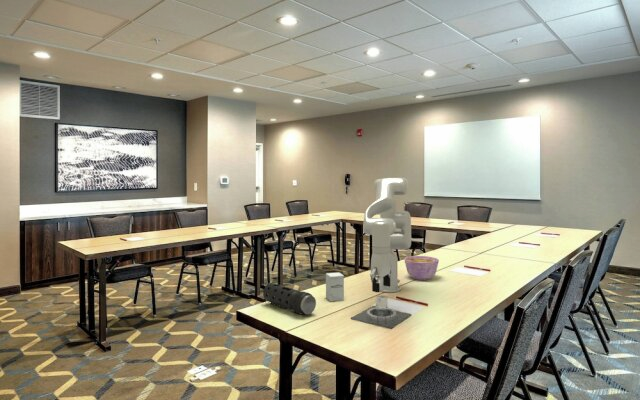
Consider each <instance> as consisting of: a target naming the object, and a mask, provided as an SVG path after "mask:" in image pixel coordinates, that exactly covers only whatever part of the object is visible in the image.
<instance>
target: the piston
mask: <svg viewBox="0 0 640 400" xmlns="http://www.w3.org/2000/svg"><path fill="white" fill-rule="evenodd" d="M375 306H376V316H382V317H386V316H387V308H388V296H386V295H376V296H375Z"/></svg>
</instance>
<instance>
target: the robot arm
mask: <svg viewBox="0 0 640 400" xmlns="http://www.w3.org/2000/svg"><path fill="white" fill-rule="evenodd" d="M373 185H374V190H375V194H376V195H375V201H374V202H372V203H371V204H370V205H369V206H368V207H367V208H366V209H365V212H364V216H363V223H362V226H363V227H362V229H363V232H364V234H366V235H370V236H371V237H372V238H371V239H372V240H371V241H372V242H371V243H372V245H371V246H372V247H371V249H372V251H371V252H372V254H371V259H370V274H369V276H370V280H371V288H372V290H371V291H372V292H374V293H380V292H381V293H387V294H388V293H390V294H391V293H398V292H400V291H401V287H400V286H399V283H400V282H401V279H399V278H398V256H397V254H396V252H395V251H394V250H409V249H410V248H411V246H412V217H411V214H410V212H409V211H407V210H397V200H396V198H395V196H406V195H407V194H408V192H409V188H410V187H409V186H410V185H409V181H408V179H407V178H406V177H384V178H377V179H375V180H374V184H373ZM378 214H379V215H380V216H379V217H375V216H376V215H378ZM397 229H399V230H397Z"/></svg>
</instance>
